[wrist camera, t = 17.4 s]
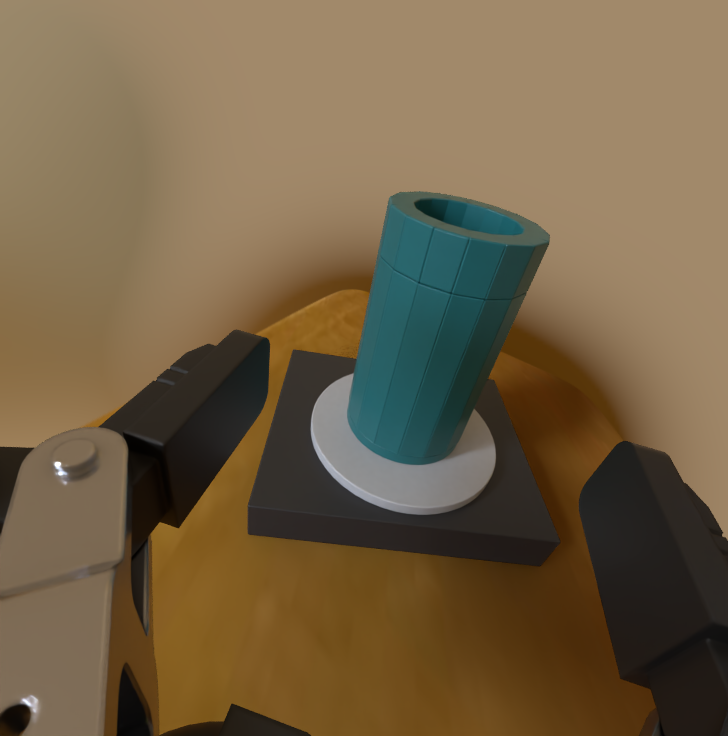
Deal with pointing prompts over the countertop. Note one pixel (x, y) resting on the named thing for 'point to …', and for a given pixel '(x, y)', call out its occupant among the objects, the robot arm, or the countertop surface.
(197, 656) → the countertop surface
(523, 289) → the jar
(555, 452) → the countertop surface
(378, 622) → the countertop surface
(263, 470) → the scale
